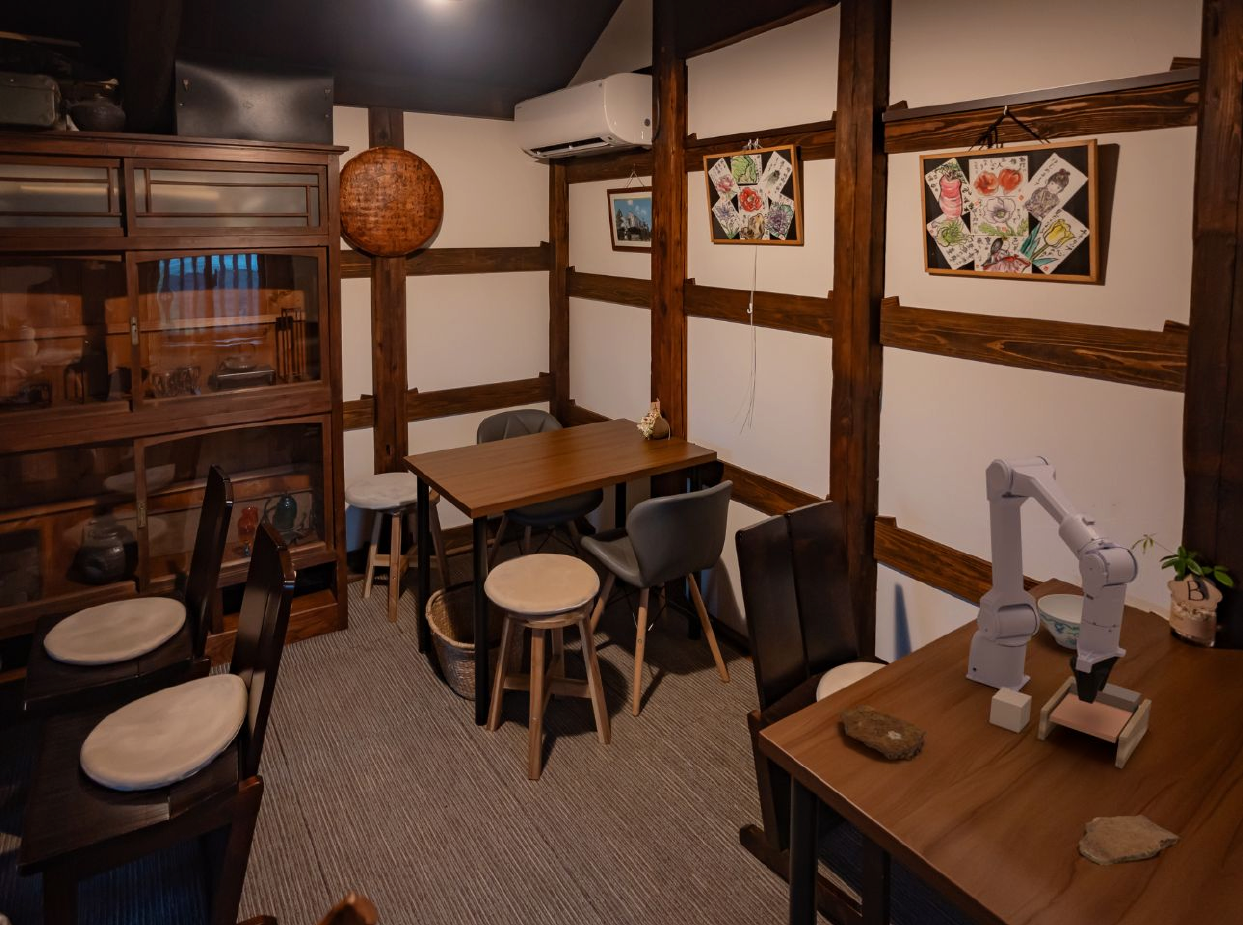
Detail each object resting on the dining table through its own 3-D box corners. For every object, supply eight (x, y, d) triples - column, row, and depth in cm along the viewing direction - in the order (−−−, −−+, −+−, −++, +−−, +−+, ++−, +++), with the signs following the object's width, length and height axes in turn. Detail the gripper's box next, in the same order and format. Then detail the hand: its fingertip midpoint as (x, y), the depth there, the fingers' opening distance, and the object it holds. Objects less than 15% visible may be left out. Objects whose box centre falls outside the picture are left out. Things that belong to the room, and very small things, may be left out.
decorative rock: (821, 739, 151) (902, 776, 141) (822, 718, 149) (904, 755, 140) (854, 709, 159) (933, 743, 149) (855, 690, 157) (935, 722, 148)
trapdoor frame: (1037, 738, 149) (1041, 709, 147) (1067, 703, 160) (1070, 675, 158) (1121, 768, 140) (1126, 738, 139) (1147, 729, 151) (1151, 700, 150)
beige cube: (989, 722, 154) (992, 697, 153) (1000, 711, 157) (1002, 686, 156) (1018, 733, 151) (1021, 707, 149) (1029, 721, 154) (1031, 696, 153)
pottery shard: (1117, 889, 117) (1183, 842, 124) (1118, 873, 116) (1184, 827, 123) (1060, 852, 124) (1125, 810, 131) (1061, 837, 123) (1126, 796, 130)
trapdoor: (1049, 720, 147) (1051, 704, 146) (1076, 689, 157) (1078, 674, 156) (1114, 743, 140) (1117, 726, 139) (1138, 708, 150) (1140, 693, 149)
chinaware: (1041, 621, 193) (1045, 588, 191) (1118, 637, 185) (1122, 604, 183) (1027, 647, 181) (1031, 612, 179) (1108, 666, 173) (1113, 630, 171)
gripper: (1115, 642, 133) (1104, 721, 136) (1141, 612, 143) (1130, 686, 147) (1066, 628, 138) (1056, 705, 141) (1094, 600, 148) (1084, 673, 151)
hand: (1090, 695), depth 144 cm, fingers open, 5 cm apart
